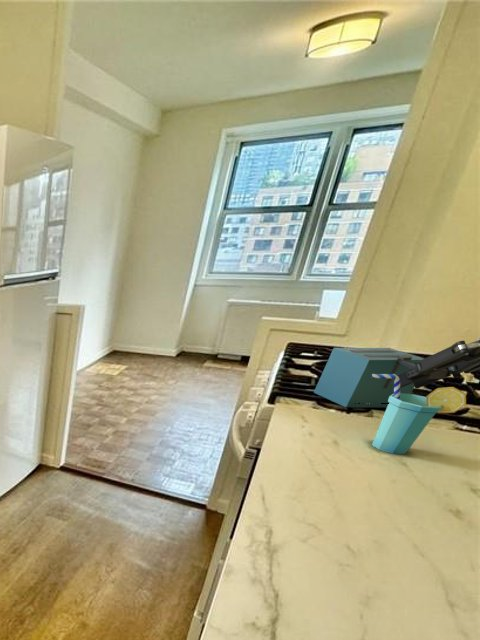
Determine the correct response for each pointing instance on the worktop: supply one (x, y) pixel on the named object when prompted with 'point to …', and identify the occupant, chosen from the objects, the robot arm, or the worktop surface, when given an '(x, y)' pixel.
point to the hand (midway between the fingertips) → (405, 382)
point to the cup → (412, 415)
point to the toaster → (362, 376)
